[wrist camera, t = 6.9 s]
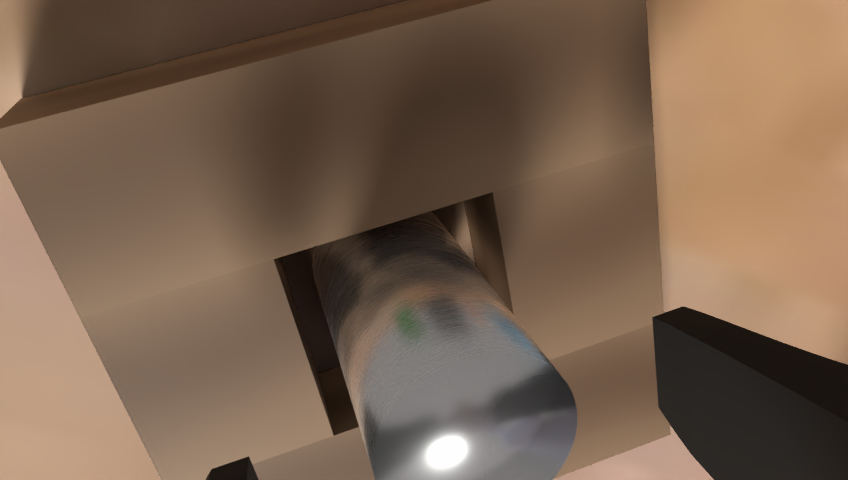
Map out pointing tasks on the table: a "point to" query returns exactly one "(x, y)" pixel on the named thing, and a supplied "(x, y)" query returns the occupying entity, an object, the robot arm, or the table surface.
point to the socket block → (352, 213)
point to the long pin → (439, 360)
